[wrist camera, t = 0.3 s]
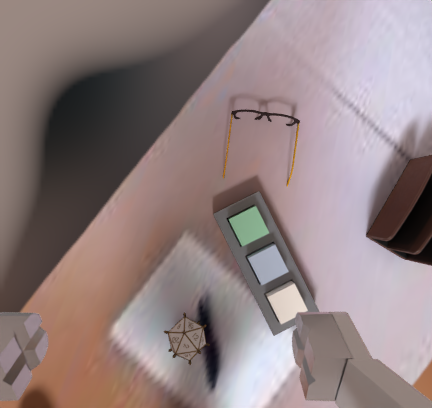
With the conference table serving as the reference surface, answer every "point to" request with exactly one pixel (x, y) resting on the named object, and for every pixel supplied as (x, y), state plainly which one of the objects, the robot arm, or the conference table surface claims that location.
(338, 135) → the conference table surface
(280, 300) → the cream button
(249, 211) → the green button
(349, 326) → the robot arm
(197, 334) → the game die
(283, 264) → the slate blue button
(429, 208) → the letter holder
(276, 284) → the button panel
